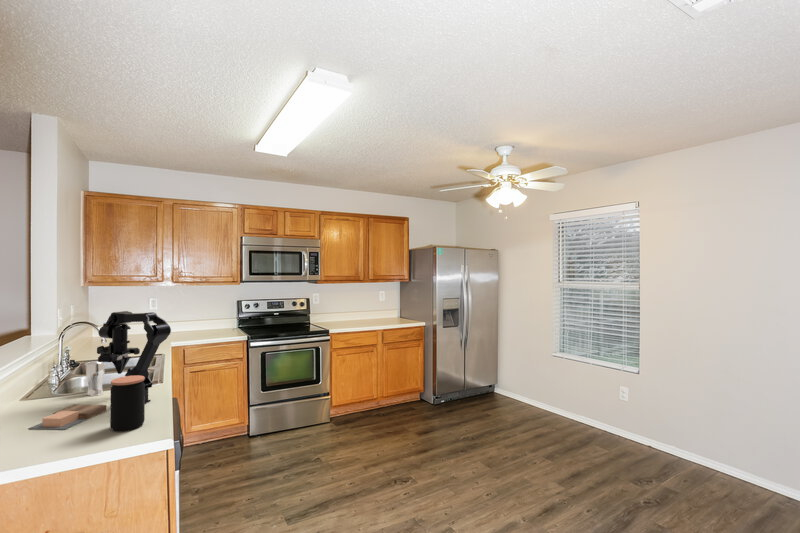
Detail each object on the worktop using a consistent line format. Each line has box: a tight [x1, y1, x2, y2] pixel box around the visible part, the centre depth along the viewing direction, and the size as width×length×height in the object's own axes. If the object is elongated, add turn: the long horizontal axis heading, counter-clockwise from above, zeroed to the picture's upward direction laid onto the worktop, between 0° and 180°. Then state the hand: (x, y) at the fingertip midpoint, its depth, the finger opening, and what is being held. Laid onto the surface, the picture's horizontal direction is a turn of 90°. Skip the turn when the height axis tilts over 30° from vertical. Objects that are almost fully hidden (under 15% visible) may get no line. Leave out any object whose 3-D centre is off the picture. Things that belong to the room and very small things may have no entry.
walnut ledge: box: [52, 404, 107, 421], centre depth 164 cm, size 14×10×2 cm
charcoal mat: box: [28, 419, 88, 431], centre depth 154 cm, size 14×10×1 cm
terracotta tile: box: [42, 411, 79, 427], centre depth 155 cm, size 7×8×3 cm
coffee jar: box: [109, 375, 146, 433], centre depth 152 cm, size 11×11×18 cm
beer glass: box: [85, 360, 105, 397], centre depth 192 cm, size 7×7×15 cm
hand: (119, 373), depth 183 cm, fingers closed
